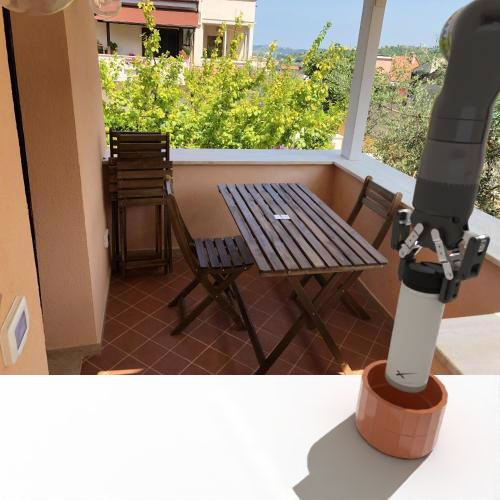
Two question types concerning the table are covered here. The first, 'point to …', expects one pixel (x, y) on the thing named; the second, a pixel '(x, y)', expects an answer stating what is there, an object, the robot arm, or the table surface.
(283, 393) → the table surface
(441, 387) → the planter
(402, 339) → the travel mug
